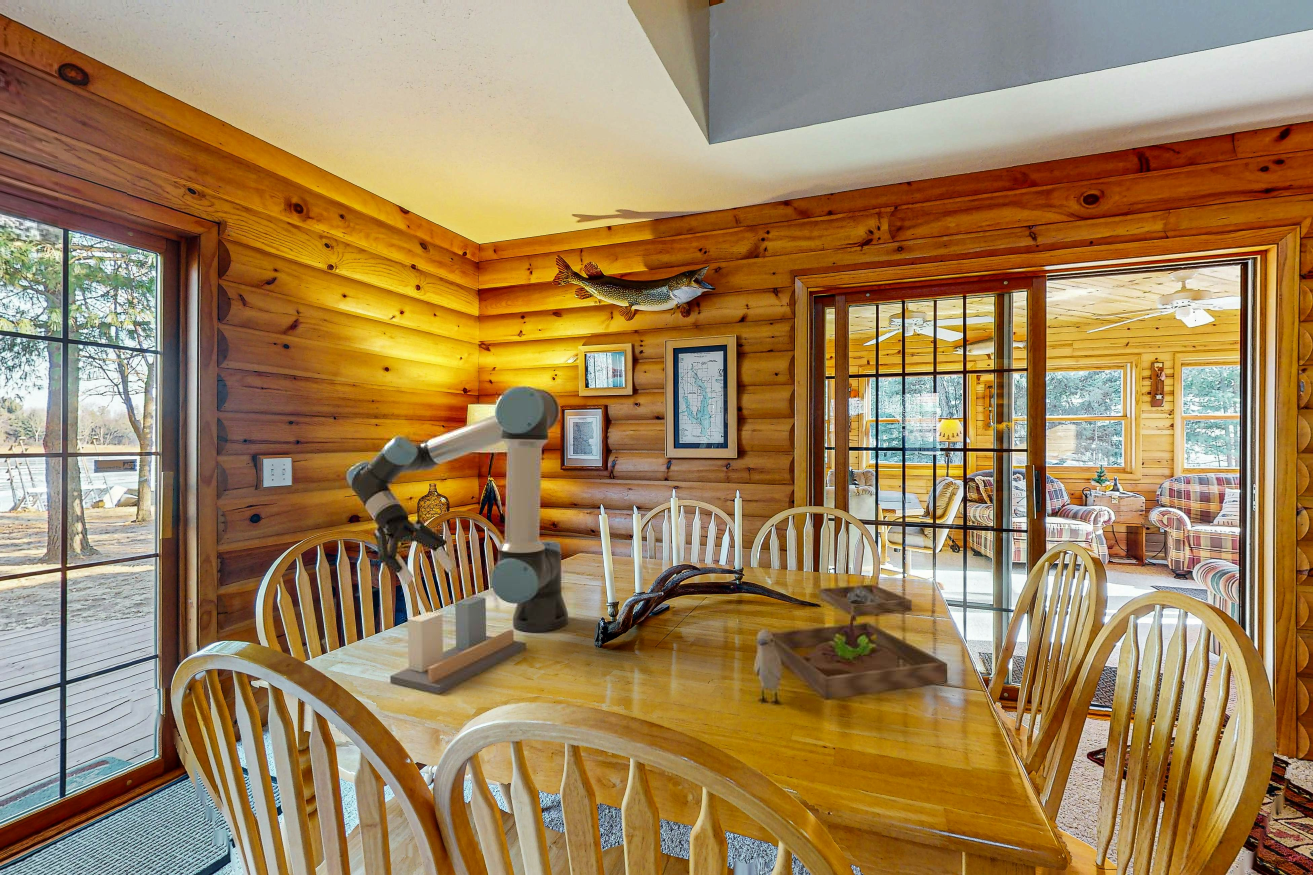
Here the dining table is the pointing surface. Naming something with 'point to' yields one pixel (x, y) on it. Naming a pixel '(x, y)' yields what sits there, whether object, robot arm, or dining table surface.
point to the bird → (767, 664)
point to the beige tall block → (425, 641)
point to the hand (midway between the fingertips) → (431, 574)
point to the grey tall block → (470, 622)
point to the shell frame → (891, 605)
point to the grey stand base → (460, 664)
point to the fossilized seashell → (862, 596)
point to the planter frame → (917, 675)
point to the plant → (851, 654)
